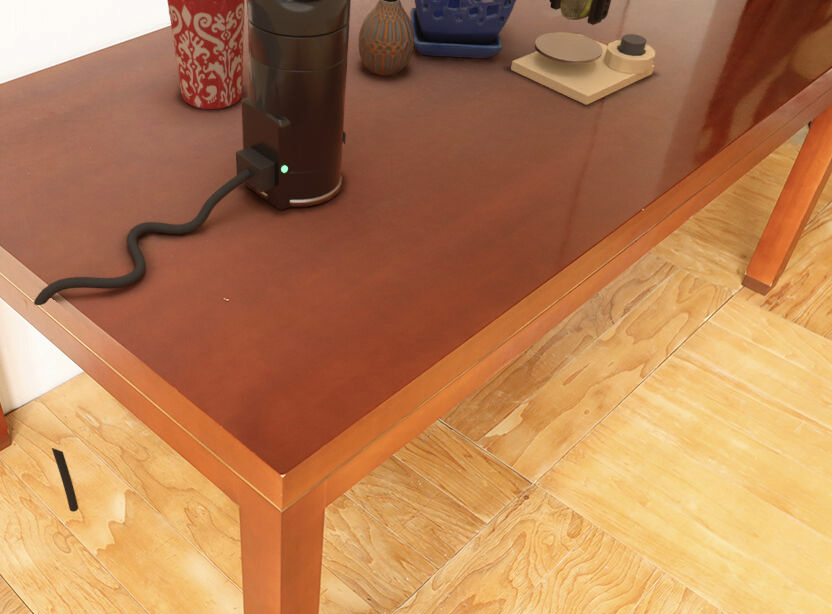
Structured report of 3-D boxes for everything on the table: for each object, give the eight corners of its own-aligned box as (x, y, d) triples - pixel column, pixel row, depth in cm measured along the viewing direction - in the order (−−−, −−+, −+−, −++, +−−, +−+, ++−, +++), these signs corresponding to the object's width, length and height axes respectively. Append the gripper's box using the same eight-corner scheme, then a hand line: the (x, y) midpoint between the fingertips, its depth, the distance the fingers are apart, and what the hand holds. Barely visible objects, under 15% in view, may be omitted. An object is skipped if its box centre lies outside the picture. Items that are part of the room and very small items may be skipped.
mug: (228, 120, 98) (223, 0, 88) (160, 103, 100) (147, -15, 91) (275, 76, 106) (274, -39, 97) (210, 61, 108) (203, -52, 99)
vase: (411, 59, 111) (419, -11, 105) (410, 83, 106) (418, 11, 100) (358, 55, 111) (363, -15, 105) (355, 79, 106) (359, 7, 100)
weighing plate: (574, 69, 103) (575, 66, 103) (520, 46, 108) (521, 43, 107) (615, 52, 107) (616, 48, 107) (562, 29, 112) (562, 26, 111)
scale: (589, 106, 103) (595, 83, 101) (510, 69, 110) (514, 46, 107) (657, 74, 110) (664, 51, 108) (579, 41, 116) (584, 19, 114)
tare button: (633, 59, 107) (637, 46, 105) (613, 51, 108) (617, 37, 107) (647, 53, 108) (651, 39, 107) (627, 45, 110) (631, 31, 108)
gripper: (540, -153, 94) (510, 3, 106) (650, -122, 87) (605, 43, 99) (581, -163, 98) (548, -10, 110) (690, -134, 90) (642, 27, 102)
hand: (575, 14), depth 104 cm, fingers closed on lime, 5 cm apart
